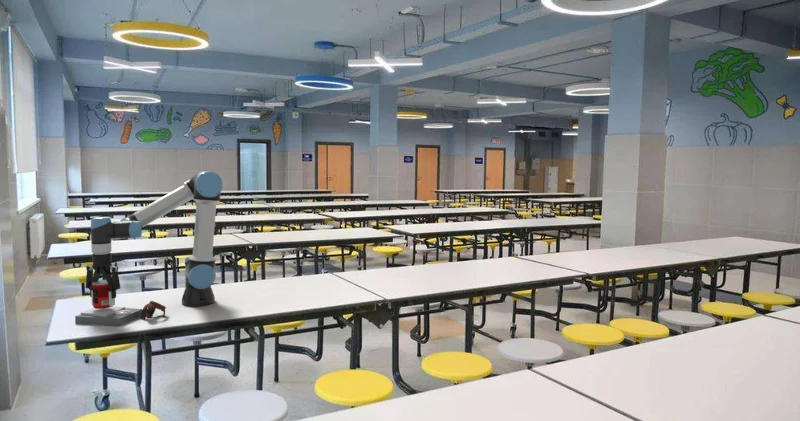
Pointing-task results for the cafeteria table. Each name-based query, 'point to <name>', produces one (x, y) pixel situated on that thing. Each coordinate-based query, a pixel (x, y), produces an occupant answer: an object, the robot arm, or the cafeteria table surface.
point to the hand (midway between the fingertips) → (103, 305)
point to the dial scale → (108, 316)
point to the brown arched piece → (151, 309)
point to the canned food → (100, 294)
